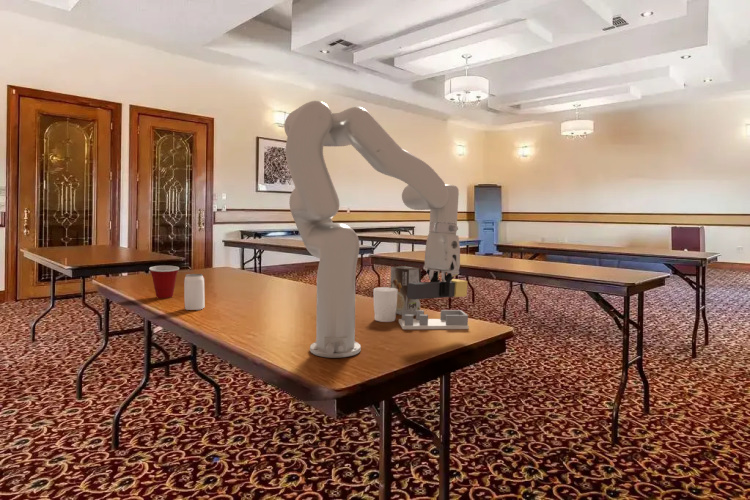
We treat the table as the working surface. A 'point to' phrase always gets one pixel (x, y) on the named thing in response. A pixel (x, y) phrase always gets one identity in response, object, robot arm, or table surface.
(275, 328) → the table surface
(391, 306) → the white cup
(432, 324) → the clip rail
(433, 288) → the gray box yellow end
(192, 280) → the can
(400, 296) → the coffee box
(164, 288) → the plastic cup
